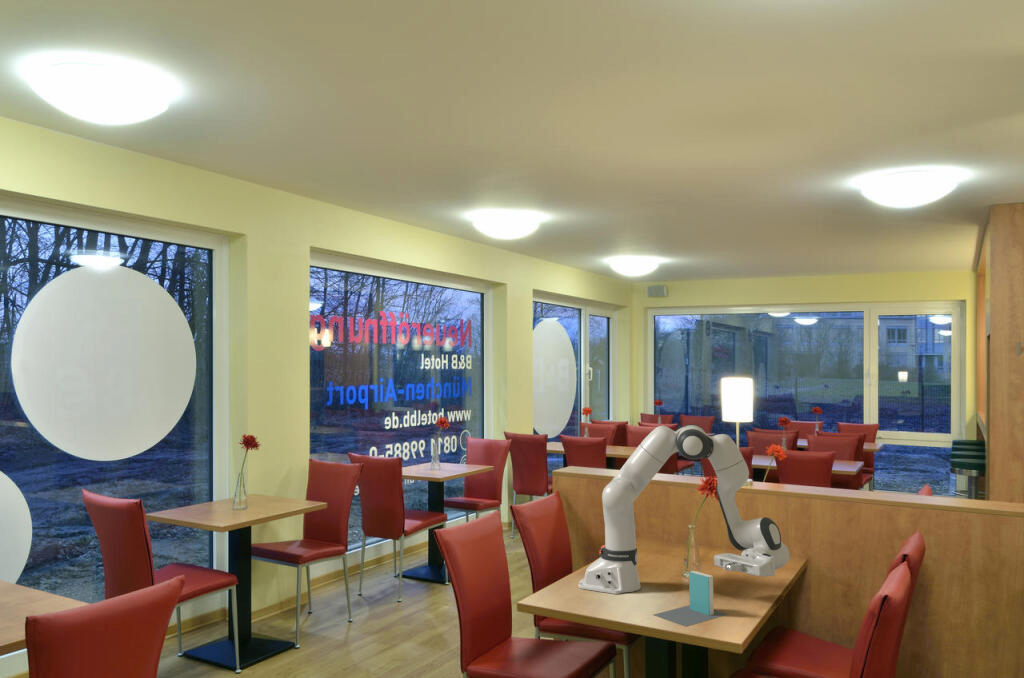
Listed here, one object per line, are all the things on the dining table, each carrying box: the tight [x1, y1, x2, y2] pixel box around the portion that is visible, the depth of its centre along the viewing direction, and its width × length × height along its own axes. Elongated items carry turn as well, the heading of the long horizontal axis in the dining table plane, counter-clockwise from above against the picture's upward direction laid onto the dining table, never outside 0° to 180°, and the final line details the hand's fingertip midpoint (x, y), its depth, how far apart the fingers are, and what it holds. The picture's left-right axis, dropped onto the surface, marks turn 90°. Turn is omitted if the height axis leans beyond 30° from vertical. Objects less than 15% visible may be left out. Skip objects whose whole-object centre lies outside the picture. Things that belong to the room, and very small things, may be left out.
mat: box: [653, 604, 730, 628], centre depth 242 cm, size 20×14×1 cm
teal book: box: [688, 570, 715, 615], centre depth 245 cm, size 2×8×12 cm, turn 35°
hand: (727, 568), depth 252 cm, fingers closed
